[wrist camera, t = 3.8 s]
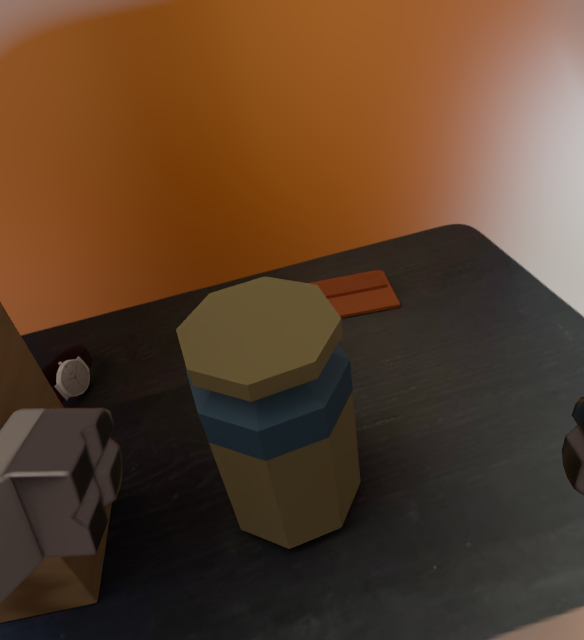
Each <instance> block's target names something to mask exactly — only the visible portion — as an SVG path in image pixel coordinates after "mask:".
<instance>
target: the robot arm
mask: <svg viewBox="0 0 584 640" xmlns="http://www.w3.org/2000/svg"><path fill="white" fill-rule="evenodd" d="M572 416H573V418H574V420H575V421H576V423H577V426H576V427H575V428H574V429H573V430H571V431H570V432H569V433H568V434H567V435H566V436H565V440H564V444H563V448H562V456H563V466H564V469H565V472H566V475H567V478H568V479H569V481H570V483H571V484H572V486H573V488H574V489H575V490H576V491H578V492H579V493H581V494H582V495H584V397H581V398H580V399H579V401H578V402H577V403H576V404H575V407H574V410H573V414H572ZM114 427H115V425H114V422H113V419H112V415H111V412H110V411H109V410H107V409H106V408H49V409H46V408H39V409H20V410H17V411H15V412H14V413H13V414H12V415H11V416H10V418H9V419H8V420H7V422H6V423H5V425H4V426H3V427H2V429H1V430H0V603H1V602H2V601H3V600H4V599H5V598H6V597H7V596H8V595H9V594H10V593H11V592H12V591H13V590H14V589H15V588H16V587H17V586H19V585H20V584H21V583H22V582H23V581H24V580H25V579H26V578H27V577H28V576H29V575H30V574H31V573H32V572H33V571H34V570H35V569H36V568H37V567H38V566H39V565H40V564H41V563H42V562H43V560H44V559H43V557H63V556H83V555H96V553H97V550H98V547H99V545H100V542H101V539H102V537H103V534H104V531H105V528H106V526H107V523H108V518H107V514H106V511H105V508H106V507H108V506H109V505H110V504H111V503H112V502H113V501H115V500H116V498H117V495H118V492H119V489H120V486H121V480H122V473H123V461H122V453H121V449H120V445H118V444H117V443H116V442H115V441H114V440H113V439H111V438H110V436H111V434H112V431H113V429H114Z"/></svg>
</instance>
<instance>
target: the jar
mask: <svg viewBox="0 0 584 640" xmlns="http://www.w3.org/2000/svg"><path fill="white" fill-rule="evenodd" d="M176 331H177V335H178V339H179V342H180V346H181V349H182V353H183V356H184V360H185V364H186V367H187V370H186V372H187V375H188V379H189V383H190V386H191V390H192V393H193V397H194V401H195V404H196V408H197V411H198V415H199V417H200V420H201V423H202V425H203V428H204V431H205V434H206V436H207V439H208V442H209V444H210V447H211V450H212V453H213V455H214V458H215V461H216V463H217V466H218V469H219V472H220V474H221V477H222V480H223V482H224V485H225V488H226V490H227V493H228V496H229V499H230V501H231V504H232V507H233V509H234V512H235V515H236V518H237V520H238V523H239V526H240V528H241V530H243V531H246V532H248V533H251V534H253V535H256V536H258V537H261V538H263V539H266V540H268V541H271V542H273V543H276V544H278V545H281V546H283V547H286V548H288V549H291V548H293V547H295V546H298V545H300V544H303V543H305V542H308V541H310V540H312V539H315V538H317V537H320V536H322V535H325V534H327V533H330V532H332V531H334V530H337V529H339V528H342V525H343V523H344V521H345V518H346V516H347V513H348V511H349V509H350V506H351V504H352V501H353V499H354V497H355V494H356V492H357V489H358V487H359V485H360V482H361V481H360V469H359V458H358V447H357V435H356V424H355V412H354V401H353V390H352V378H351V367H350V360H349V358H348V357H347V355H346V354H345V352H344V351H343V349H342V348H341V346H340V345H339V343H338V342H339V341H340V339H341V337H342V335H343V331H342V320H341V317H340V316H339V314H338V313H337V312H336V310H335V309H334V307H333V306H332V305H331V303H330V302H329V301H328V299H327V298H326V296H325V295H324V294H323V292H322V291H321V290H320V288H319V287H318V285H314V284H308V283H302V282H296V281H289V280H283V279H277V278H271V277H262V278H258V279H255V280H252V281H249V282H245V283H242V284H239V285H236V286H232V287H229V288H226V289H223V290H219V291H216V292H213V293H210V294H209V295H208V296H207V297H206V298H205V299H204V300H203V301H202V302H201V303H200V304H199V306H198V307H197V308H196V309H195V310H194V311H193V312H192V313H191V314H190V315H189V316H188V317H187V318H186V320H185V321H184V322H183V323H182V324H181V325H180V326H179V327H178V328H177V329H176Z"/></svg>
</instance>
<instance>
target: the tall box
mask: <svg viewBox="0 0 584 640" xmlns="http://www.w3.org/2000/svg"><path fill="white" fill-rule="evenodd" d="M39 408H46V409H49V408H64V407H63V405H62V404H61V402H60V400H59V399H58V397H57V395H56V394H55V392H54V390H53V389H52V387H51V385H50V384H49V382H48V381H47V379H46V377H45V376H44V374H43V372H42V371H41V369H40V367H39V366H38V364H37V362H36V361H35V359H34V357H33V356H32V354H31V352H30V351H29V349H28V347H27V346H26V344H25V342H24V341H23V339H22V337H21V336H20V334H19V332H18V331H17V329H16V327H15V326H14V324H13V322H12V321H11V319H10V317H9V316H8V314H7V312H6V311H5V309H4V307H3V306H2V304H1V302H0V430H1V429H2V427H3V426H4V425H5V423H6V422H7V420H8V419H9V418H10V416H11V415H12V414H13V413H14V412H15V411H17V410H20V409H39ZM111 507H112V503H111V504H110V505H109V506H108V507H106V508H105V511H106V514H107V518H108V523H107V526H106V528H105V531H104V534H103V537H102V539H101V542H100V545H99V547H98V550H97V553H96V555H83V556H63V557H43V559H44V560H43V562H42V563H41V564H40V565H39V566H38V567H37V568H36V569H35V570H34V571H33V572H32V573H31V574H30V575H29V576H28V577H27V578H26V579H25V580H24V581H23V582H22V583H21V584H20V585H19V586H17V587H16V588H15V589H14V590H13V591H12V592H11V593H10V594H9V595H8V596H7V597H6V598H5V599H4V600H3V601H2V602H1V603H0V623H2V622H7V621H12V620H17V619H21V618H26V617H31V616H36V615H41V614H45V613H50V612H55V611H60V610H65V609H69V608H74V607H79V606H84V605H89V604H93V603H97V602H98V595H99V589H100V582H101V575H102V568H103V561H104V555H105V548H106V541H107V534H108V527H109V520H110V514H111Z"/></svg>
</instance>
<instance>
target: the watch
mask: <svg viewBox="0 0 584 640" xmlns="http://www.w3.org/2000/svg"><path fill="white" fill-rule="evenodd" d="M92 361H93V359H92V357H91V355H90V354H89V352H88V351H87V349H86V348H85V347H84V345H83V344H78V345H75V346H73V347H70V348H69V349H67V350H65V351H64V352H62V353H61V354H60V355H58V356H57V357H56V358H55V359H53V360H52V361H51V362H50V363H49V364H48V365H47V366H46V367H45V368H44V369H43V370H41V371H42V372H43V374H44V376H45V377H46V379H47V381H48V382H49V384H50V385H52V384H53V383H54V382H55V381H56V383H57V384H56V385H55V386H54V388H53V390H54V392H55V394H56V395H57V397H58V399H59V400H60V402H61V404H63V403H64V401H65V400H68V398H69V397H74V396H79V395H80V394H82V393H84V392H85V391H86V389H87V388H88V385H89V380H90V376H89V371H90V370H89V368H90V366H91V364H92Z"/></svg>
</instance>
